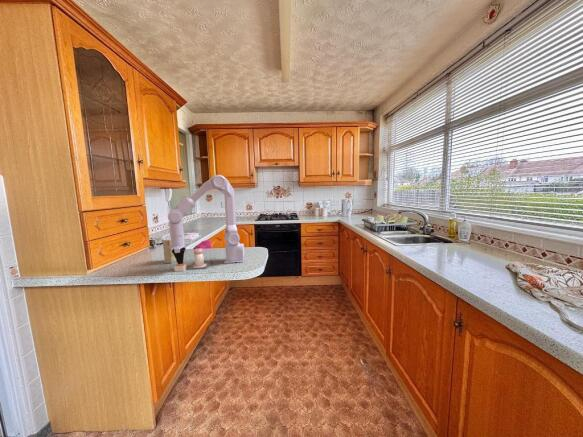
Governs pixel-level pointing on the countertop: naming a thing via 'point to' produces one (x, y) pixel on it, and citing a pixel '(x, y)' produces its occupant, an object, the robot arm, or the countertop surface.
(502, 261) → the countertop surface
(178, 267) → the button housing
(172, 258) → the skincare box
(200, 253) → the rose marker
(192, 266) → the picture board
